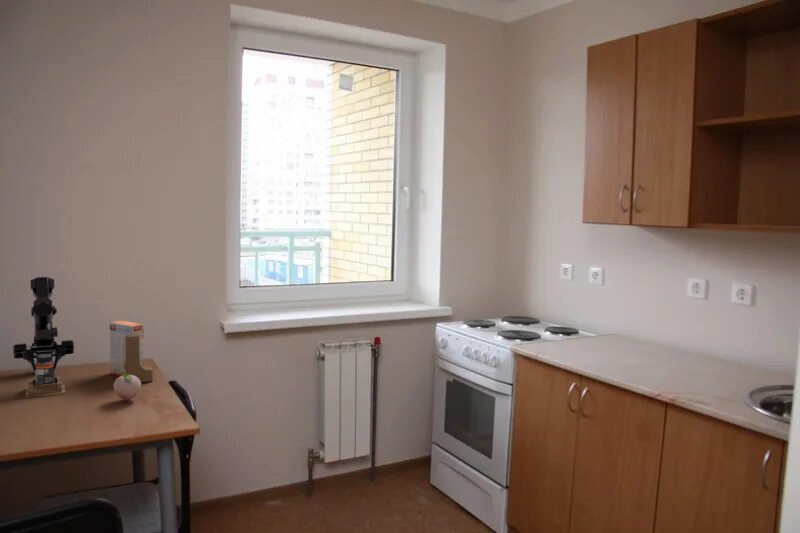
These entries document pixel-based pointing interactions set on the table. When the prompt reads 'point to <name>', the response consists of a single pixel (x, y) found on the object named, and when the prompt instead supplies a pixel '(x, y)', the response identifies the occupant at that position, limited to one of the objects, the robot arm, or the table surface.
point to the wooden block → (136, 360)
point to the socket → (44, 388)
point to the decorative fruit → (127, 386)
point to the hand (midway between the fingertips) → (44, 369)
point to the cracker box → (123, 344)
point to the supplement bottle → (44, 370)
